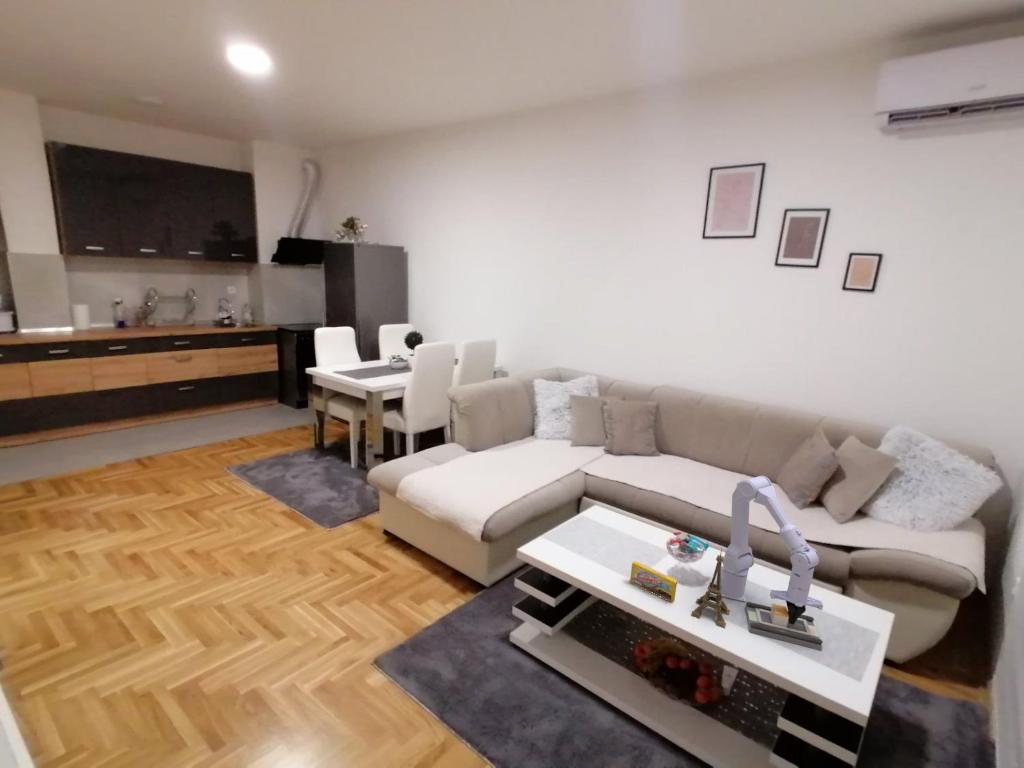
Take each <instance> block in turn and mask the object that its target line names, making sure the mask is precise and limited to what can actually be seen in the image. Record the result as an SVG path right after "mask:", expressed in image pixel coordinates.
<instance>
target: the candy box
mask: <svg viewBox="0 0 1024 768" xmlns="http://www.w3.org/2000/svg"><path fill="white" fill-rule="evenodd" d="M629 582H630V583H632V584H633V585H635V584H636V585H635V586H637V585H638V586H637V587H639V586H640V587H639V588H641V587H642V588H641V589H643V588H644V589H643V590H645V589H646V590H645V591H647V590H648V591H647V592H649V591H651V592H653V593H655V594H657V595H659V596H661V597H662V598H661V597H660V598H661V599H663V598H664V600H665V599H667V600H669V601H671V602H673V603H674V602H675V600H676V592H677V585H678V579H675V578H673V577H671V576H668V575H666V574H664V573H663V572H660V571H657V570H656V569H654V568H652V567H650V566H647V565H645V564H642V563H641V562H639V561H637V560H634V561H632V562H631V569H630V579H629ZM651 592H650V593H651ZM653 593H652V594H653ZM655 594H654V595H655ZM657 595H656V596H657ZM659 596H658V597H659ZM667 600H666V601H667ZM669 601H668V602H669ZM671 602H670V603H671Z"/></svg>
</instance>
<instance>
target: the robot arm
mask: <svg viewBox="0 0 1024 768" xmlns="http://www.w3.org/2000/svg"><path fill="white" fill-rule="evenodd" d="M751 501H753V502H754V503H756V504H759V505H762V506H765V508H766V510H767V511H768V512H769V514H770V515H771V517H772V519H774V521H775V523H776V525H778V527H779V531H778V535H779V536H780V538H781V539H782V541H783V543H784V544H785V546H786V548H787V549H788V551H789V553H790V554H791V555H790V557H789V558H790V562H791V565H792V567H791V571H790V577H789V580H788V584H787V589H786V590H775V589H770V592H769V596H770V599H772V600H775V599H778V600H782V601H785V603H786V608H787V611H788V615H789V618H788V621H789V624H793V625H794V624H795V622H796V620H797V619H798V617H799V616H800V615H801V614H802V615H804V614H805V612H806V611H807V608H806V606H807V607H812V608H817V609H818V610H820V611H822V610H823V607H824V603H823V601H821V600H818V599H816V598H814V597H810V596H809V593H810V588H811V583H812V581H813V576H814V571H815V567H816V566H817V565H819V563H820V554H819V552H818V551H817V550H816V549H815V548H813V547H811V545H810V544H808V542H807V541H806V539H805V537H804V536H803V532H802V530H801V529H800V528H799V527H798V526H797V525H794V524H792V523H791V522H790V520H789V517H788V516H787V513H786V512H785V511H784V508H783V506H782V505H781V503H780V501H779V499H778V497H777V495H776V488H775V487H774V485H773V484H772V481H771V480H770V479H769V477H767V476H765V475H757V476H755V477H751V478H749V479H748V478H747V479H743V480H740V481H739V482H737V483H736V488H735V489H734V490H733V492H732V495H731V518H730V519H731V525H730V528H731V529H730V544H729V545H728V547H727V548H726V549H725V552H724V556H723V559H724V561H723V562H722V565H723V566H722V565H721V585H720V586H722V591H721V597H723V598H726V599H727V598H728V599H732V600H736V601H740V602H747V598H746V593H745V590H746V585H747V579H748V574H749V571H750V568H752V567H753V566H754V564H755V558H754V555H753V548H752V547H750V546H749V530H750V529H749V528H750V527H749V526H750V524H749V522H750V502H751ZM714 584H716V585H717V577H716V579H715V582H714Z"/></svg>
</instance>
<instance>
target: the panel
mask: <svg viewBox="0 0 1024 768" xmlns="http://www.w3.org/2000/svg"><path fill="white" fill-rule="evenodd" d="M744 608H745V609H744V610H745V614H746V619H747V624H748V625H747V626H748V629H749V633H750V634H754V635H758V636H763V637H767V638H770V639H775V640H779V641H782V642H786V643H791V644H794V645H798V646H802V647H807V648H810V649H814V650H818V651H822V648H823V645H822V644H823V643H824V642H823V640H822V639H820V637H819V634H818V631H817V629H816V627H815V623H814V622H815V618H814V616H809V615H804V614H801V615H800V616H799V617H798V619H797V620H796V622H795V624H794V625H793V624H789V621H788V623H787V627H783V626H779V625H775V624H772V622H771V618H770V613H771V608H772V606H768V605H765V604H764V605H763V604H759V603H755V602H751V601H746V603H745V606H744ZM787 612H788V610H787Z"/></svg>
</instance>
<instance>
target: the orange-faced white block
mask: <svg viewBox="0 0 1024 768" xmlns="http://www.w3.org/2000/svg"><path fill="white" fill-rule="evenodd" d="M771 607H772V608H771V613H770V618H771V622H772V624H775V625H779V626H783V627H787V623H788V618H789V615H788V612H787V611H788V608H787V606H785V605H781V604H776V603H772V604H771Z"/></svg>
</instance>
